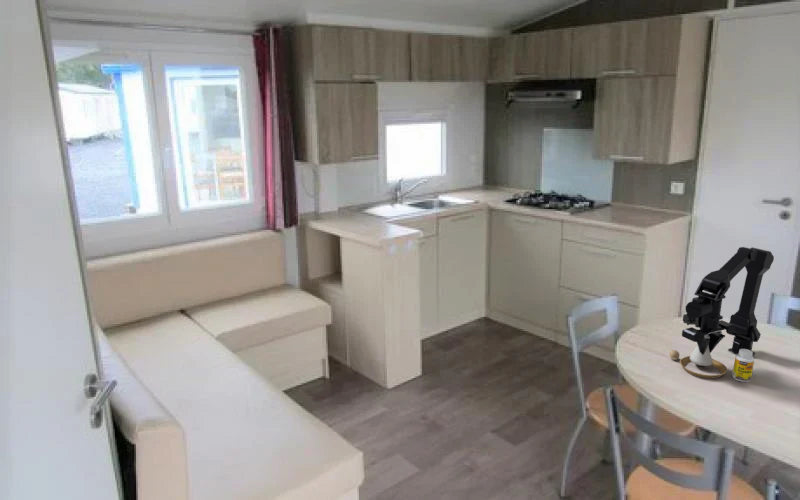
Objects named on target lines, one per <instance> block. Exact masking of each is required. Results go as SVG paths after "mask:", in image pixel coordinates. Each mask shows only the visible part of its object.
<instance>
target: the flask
mask: <svg viewBox="0 0 800 500" xmlns="http://www.w3.org/2000/svg"><path fill="white" fill-rule="evenodd" d="M707 338H708V339H709V338H710V336H709V335H708V337H707ZM711 355H712V354H711V353H710V351H709V345H708V346H707V349H706V351H705V353H704V355H702V354H701V353H700V351H699V347H698V344H697V346H696V347H695V349H694V351H693V352H692V353H691V354H690V355H689V356H690V360H691V363H693V364H695V365H697V366H705V367H708V366H712V364H713V362H712V359H713V358H712V356H711Z"/></svg>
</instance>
